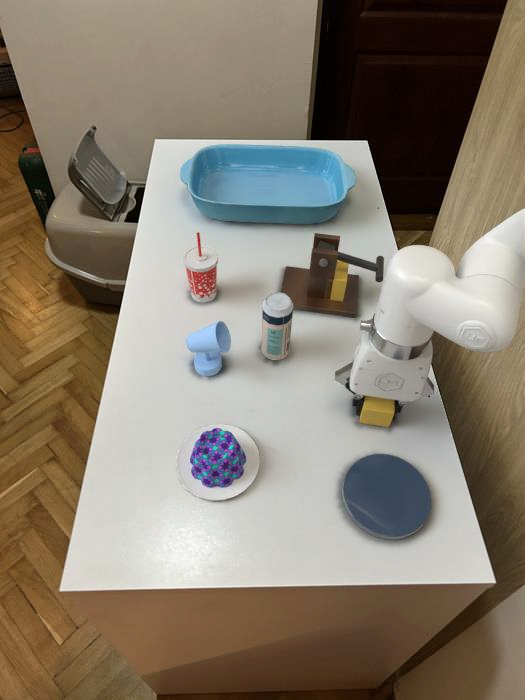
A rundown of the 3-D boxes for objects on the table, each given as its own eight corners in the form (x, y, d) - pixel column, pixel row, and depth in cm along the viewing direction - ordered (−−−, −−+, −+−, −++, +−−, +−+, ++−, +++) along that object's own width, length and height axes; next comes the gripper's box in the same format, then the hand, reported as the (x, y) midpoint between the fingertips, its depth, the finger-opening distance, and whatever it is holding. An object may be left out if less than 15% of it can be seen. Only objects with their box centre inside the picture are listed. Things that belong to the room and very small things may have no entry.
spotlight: (233, 356, 89) (193, 351, 89) (232, 315, 81) (187, 311, 82) (229, 379, 86) (187, 375, 86) (227, 340, 78) (181, 335, 78)
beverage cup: (227, 290, 99) (224, 230, 88) (206, 310, 95) (201, 250, 84) (201, 277, 101) (195, 217, 90) (180, 296, 97) (171, 236, 86)
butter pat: (389, 397, 84) (394, 383, 81) (389, 427, 81) (394, 413, 78) (361, 393, 85) (365, 379, 81) (359, 423, 81) (363, 409, 78)
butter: (344, 282, 99) (348, 262, 95) (343, 301, 96) (346, 281, 92) (326, 280, 99) (329, 259, 95) (323, 298, 96) (326, 278, 92)
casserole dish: (346, 173, 123) (351, 144, 118) (356, 234, 109) (362, 205, 104) (188, 169, 123) (185, 141, 118) (177, 230, 109) (173, 201, 104)
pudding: (232, 518, 72) (230, 502, 67) (159, 477, 75) (154, 460, 71) (274, 448, 78) (275, 430, 74) (206, 414, 82) (203, 395, 78)
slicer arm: (380, 264, 94) (386, 254, 92) (380, 285, 91) (385, 276, 89) (316, 244, 93) (321, 234, 91) (313, 265, 90) (317, 255, 88)
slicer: (358, 279, 101) (369, 230, 92) (355, 317, 95) (366, 268, 86) (285, 270, 102) (289, 220, 93) (278, 307, 96) (280, 258, 87)
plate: (427, 464, 77) (429, 460, 76) (430, 546, 70) (432, 543, 69) (345, 451, 78) (346, 447, 77) (338, 531, 71) (340, 528, 70)
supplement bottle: (282, 336, 92) (286, 287, 82) (293, 357, 89) (298, 308, 80) (257, 344, 91) (257, 294, 81) (267, 365, 88) (269, 316, 78)
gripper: (332, 346, 67) (318, 422, 81) (469, 365, 65) (430, 439, 79) (337, 304, 71) (323, 382, 86) (465, 320, 70) (429, 397, 84)
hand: (375, 408), depth 82 cm, fingers closed on butter pat, 4 cm apart
